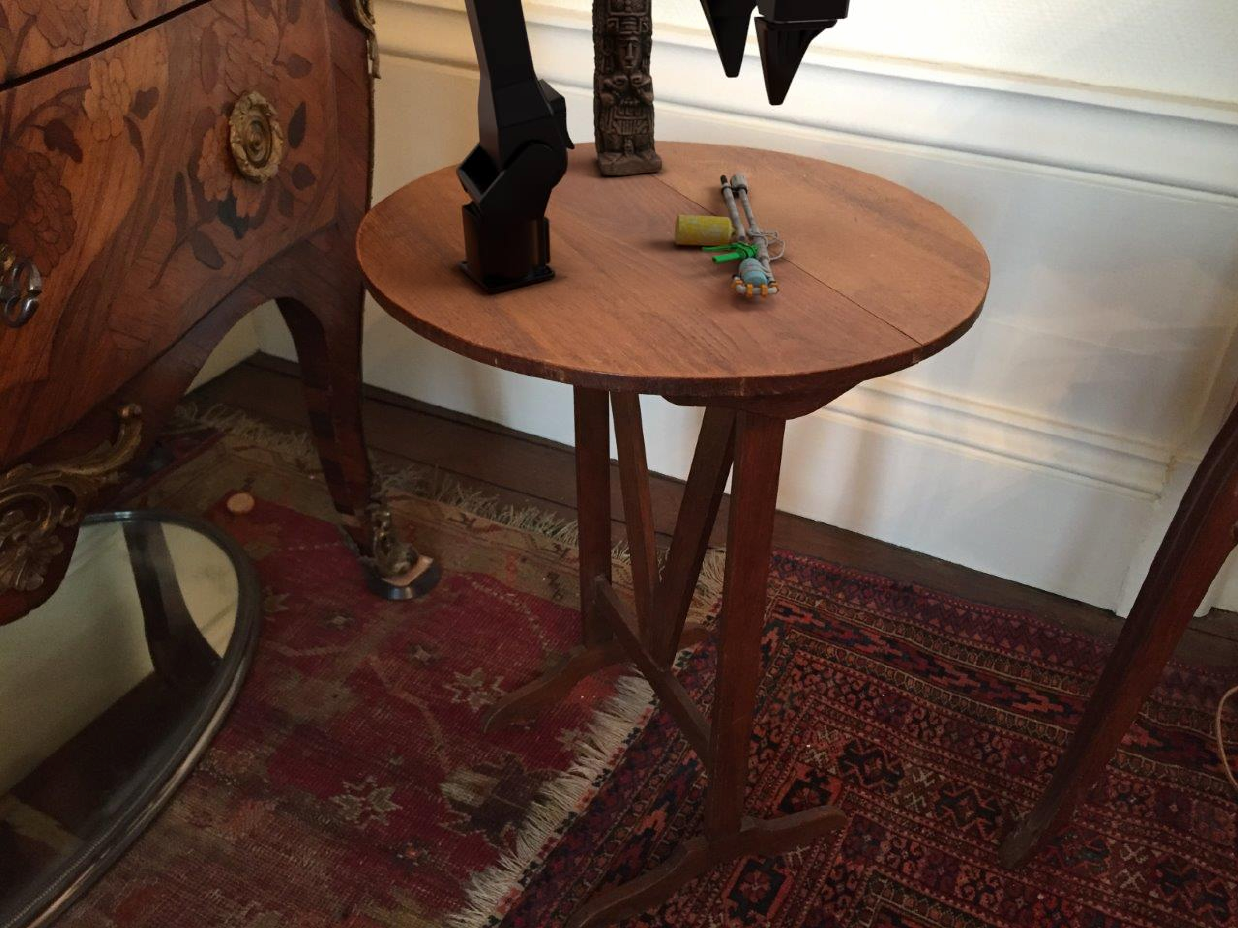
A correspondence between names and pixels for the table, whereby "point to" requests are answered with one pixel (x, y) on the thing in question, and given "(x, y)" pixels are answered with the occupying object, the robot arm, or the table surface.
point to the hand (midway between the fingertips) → (753, 90)
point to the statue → (623, 87)
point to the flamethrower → (719, 234)
